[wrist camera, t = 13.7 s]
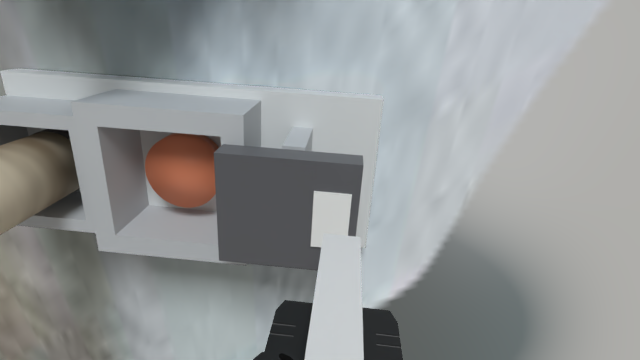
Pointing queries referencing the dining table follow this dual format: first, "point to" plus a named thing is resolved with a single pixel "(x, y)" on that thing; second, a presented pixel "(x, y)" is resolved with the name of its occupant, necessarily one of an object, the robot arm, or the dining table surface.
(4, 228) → the tan banded rod
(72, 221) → the grey slotted holder
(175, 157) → the orange round button
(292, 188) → the plate
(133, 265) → the dining table surface
